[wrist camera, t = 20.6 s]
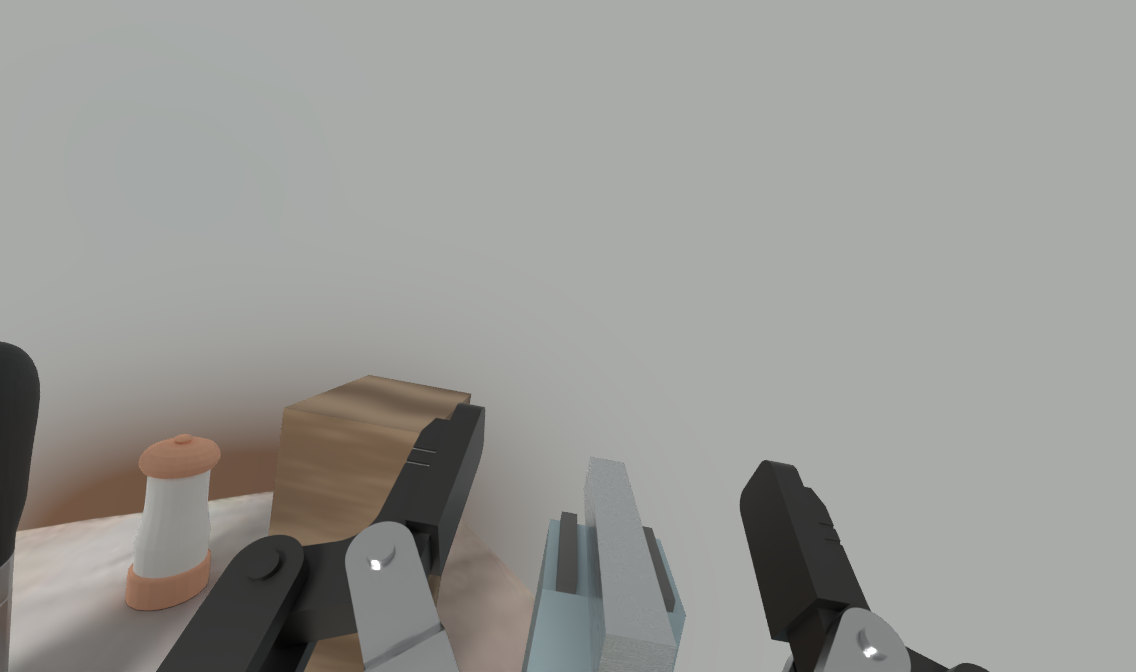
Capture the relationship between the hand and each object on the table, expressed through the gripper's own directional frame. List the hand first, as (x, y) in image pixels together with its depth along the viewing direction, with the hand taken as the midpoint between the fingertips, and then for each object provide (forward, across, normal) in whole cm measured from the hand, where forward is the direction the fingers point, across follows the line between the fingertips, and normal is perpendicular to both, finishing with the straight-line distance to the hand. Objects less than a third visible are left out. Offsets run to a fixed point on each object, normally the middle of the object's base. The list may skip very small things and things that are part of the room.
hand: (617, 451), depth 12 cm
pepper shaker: (+11, +44, +51) cm, 68 cm away
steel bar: (+11, -5, +27) cm, 30 cm away
